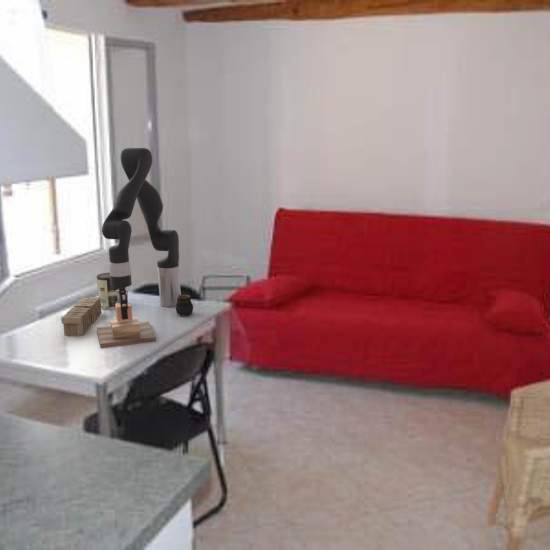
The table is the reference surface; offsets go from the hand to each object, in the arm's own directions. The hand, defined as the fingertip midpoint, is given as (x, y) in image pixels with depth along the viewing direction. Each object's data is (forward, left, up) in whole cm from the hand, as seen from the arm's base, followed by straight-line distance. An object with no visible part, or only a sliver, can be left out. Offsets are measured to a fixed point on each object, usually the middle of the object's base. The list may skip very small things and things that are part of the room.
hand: (124, 316), depth 248 cm
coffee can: (-44, -2, -8) cm, 45 cm away
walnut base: (0, 0, -8) cm, 8 cm away
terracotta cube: (0, 0, -1) cm, 1 cm away
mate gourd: (-18, +26, -8) cm, 33 cm away
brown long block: (-21, -15, -8) cm, 27 cm away
